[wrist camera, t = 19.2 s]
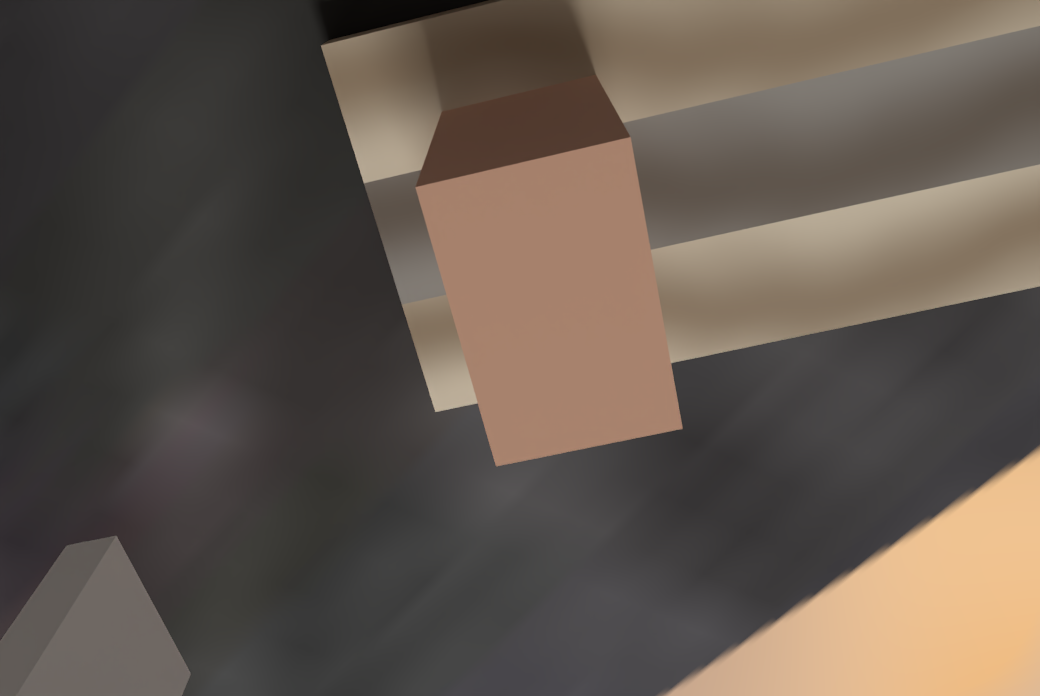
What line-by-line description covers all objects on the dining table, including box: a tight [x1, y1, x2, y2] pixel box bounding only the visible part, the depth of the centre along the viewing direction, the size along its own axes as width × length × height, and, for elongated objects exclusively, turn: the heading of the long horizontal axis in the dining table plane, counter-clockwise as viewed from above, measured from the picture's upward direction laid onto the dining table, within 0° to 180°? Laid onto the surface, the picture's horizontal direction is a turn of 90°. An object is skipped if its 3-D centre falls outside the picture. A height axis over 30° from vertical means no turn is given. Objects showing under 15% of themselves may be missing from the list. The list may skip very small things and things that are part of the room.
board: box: [321, 0, 1040, 412], centre depth 27 cm, size 12×22×1 cm, turn 103°
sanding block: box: [415, 75, 683, 466], centre depth 23 cm, size 7×4×8 cm, turn 13°
